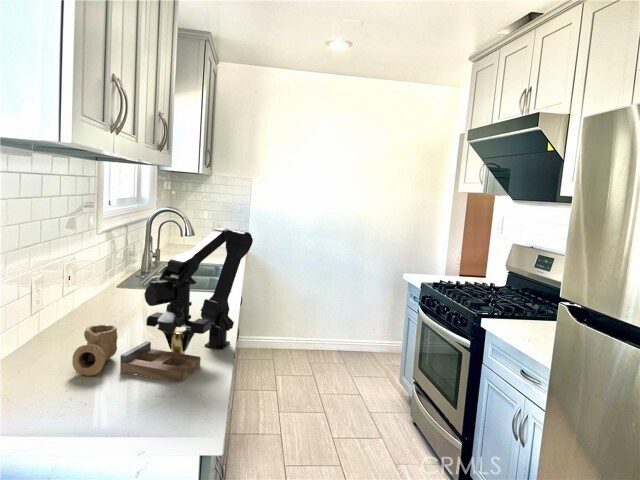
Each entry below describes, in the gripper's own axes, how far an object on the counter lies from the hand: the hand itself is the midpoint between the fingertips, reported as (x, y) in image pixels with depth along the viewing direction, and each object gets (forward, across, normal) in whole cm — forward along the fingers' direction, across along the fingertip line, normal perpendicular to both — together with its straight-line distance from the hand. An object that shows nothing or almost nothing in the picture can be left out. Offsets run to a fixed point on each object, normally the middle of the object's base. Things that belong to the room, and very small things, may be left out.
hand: (178, 350), depth 143 cm
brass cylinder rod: (+3, 0, 0) cm, 3 cm away
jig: (+3, 0, -9) cm, 9 cm away
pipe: (+3, -18, -13) cm, 22 cm away
